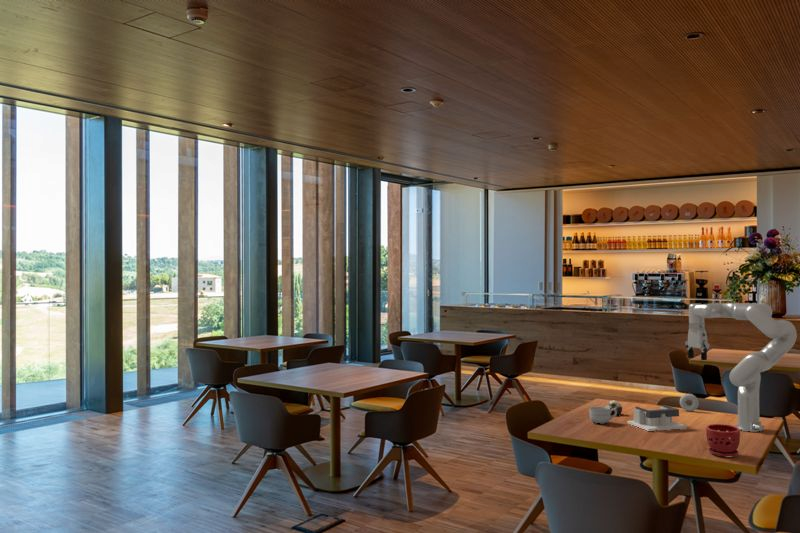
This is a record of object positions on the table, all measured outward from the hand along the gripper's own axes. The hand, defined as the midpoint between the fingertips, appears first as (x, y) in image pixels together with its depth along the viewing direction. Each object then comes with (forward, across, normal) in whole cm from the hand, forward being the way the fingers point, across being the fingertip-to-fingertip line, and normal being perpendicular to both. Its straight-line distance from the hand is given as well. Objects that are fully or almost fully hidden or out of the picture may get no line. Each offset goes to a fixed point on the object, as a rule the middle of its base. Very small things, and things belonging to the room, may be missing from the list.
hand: (697, 358), depth 348 cm
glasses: (+26, -5, +30) cm, 40 cm away
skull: (+33, +27, +34) cm, 54 cm away
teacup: (+33, +10, +52) cm, 62 cm away
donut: (+33, +20, -11) cm, 40 cm away
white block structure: (+32, -4, +30) cm, 44 cm away
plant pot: (+33, -58, +37) cm, 76 cm away
